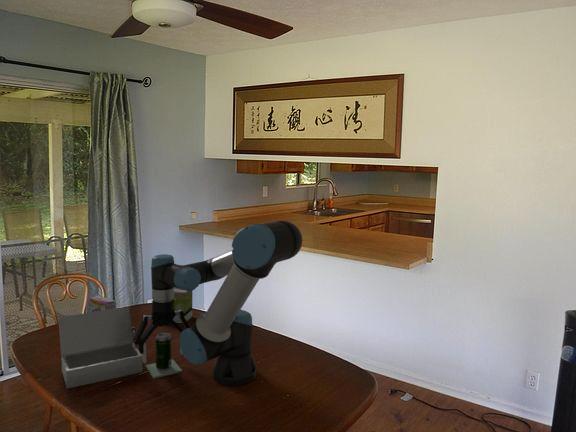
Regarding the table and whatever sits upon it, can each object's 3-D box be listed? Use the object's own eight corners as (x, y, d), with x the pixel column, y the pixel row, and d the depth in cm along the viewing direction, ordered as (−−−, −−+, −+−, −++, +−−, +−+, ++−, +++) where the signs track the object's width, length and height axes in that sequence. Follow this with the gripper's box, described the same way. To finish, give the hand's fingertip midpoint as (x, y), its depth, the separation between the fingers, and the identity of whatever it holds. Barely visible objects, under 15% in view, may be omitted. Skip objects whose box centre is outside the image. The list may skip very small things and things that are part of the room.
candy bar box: (89, 336, 192) (88, 298, 190) (100, 332, 196) (99, 295, 194) (106, 343, 186) (105, 303, 184) (117, 339, 190) (116, 300, 188)
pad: (182, 372, 164) (182, 370, 163) (153, 378, 158) (153, 376, 158) (172, 360, 172) (172, 359, 172) (145, 366, 167) (145, 365, 167)
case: (146, 371, 163) (145, 320, 161) (66, 388, 150) (64, 334, 148) (133, 351, 179) (132, 305, 176) (60, 366, 165) (58, 316, 163)
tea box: (153, 321, 211) (152, 289, 209) (162, 314, 221) (162, 283, 219) (184, 324, 208) (184, 292, 206) (193, 316, 218) (193, 286, 216)
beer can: (173, 364, 168) (173, 332, 166) (169, 371, 162) (169, 338, 161) (158, 364, 168) (157, 332, 166) (153, 371, 162) (153, 338, 161)
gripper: (193, 291, 171) (193, 346, 174) (123, 301, 158) (124, 361, 161) (201, 297, 165) (201, 354, 168) (128, 308, 152) (130, 369, 155)
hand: (163, 357), depth 164 cm, fingers open, 13 cm apart
